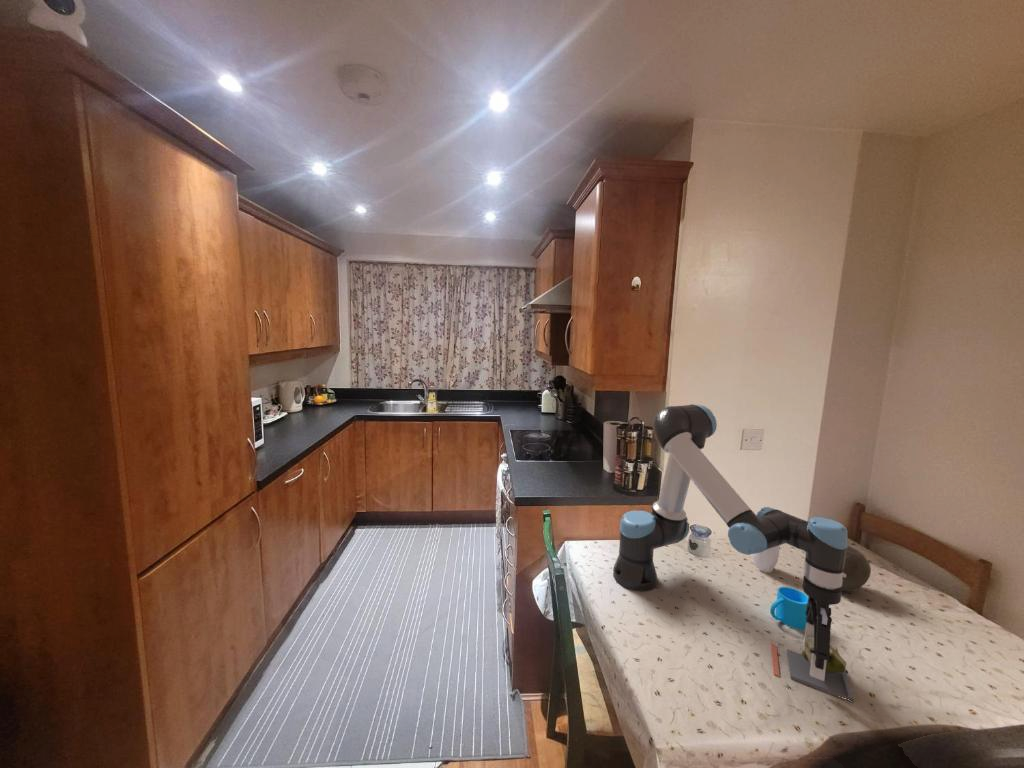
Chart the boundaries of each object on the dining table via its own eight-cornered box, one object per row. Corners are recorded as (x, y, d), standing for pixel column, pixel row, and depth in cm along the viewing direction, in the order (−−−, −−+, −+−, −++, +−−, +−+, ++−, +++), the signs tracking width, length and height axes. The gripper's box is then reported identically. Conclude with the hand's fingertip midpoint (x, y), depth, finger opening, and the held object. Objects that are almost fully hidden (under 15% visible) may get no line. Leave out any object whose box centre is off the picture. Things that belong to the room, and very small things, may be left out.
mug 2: (790, 609, 121) (792, 585, 120) (814, 627, 113) (817, 602, 112) (758, 613, 119) (760, 589, 118) (781, 633, 111) (784, 607, 110)
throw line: (773, 674, 96) (773, 673, 96) (771, 643, 107) (771, 642, 107) (779, 677, 96) (779, 675, 96) (776, 645, 106) (776, 644, 106)
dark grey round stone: (864, 606, 123) (870, 563, 122) (810, 585, 134) (814, 545, 132) (870, 588, 132) (874, 548, 131) (819, 570, 143) (823, 532, 141)
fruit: (837, 691, 90) (833, 661, 89) (794, 664, 99) (790, 637, 98) (856, 671, 94) (853, 642, 93) (813, 647, 102) (810, 620, 102)
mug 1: (783, 572, 141) (785, 542, 139) (766, 578, 138) (769, 547, 136) (753, 556, 152) (755, 528, 150) (737, 560, 149) (739, 532, 147)
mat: (790, 678, 95) (791, 672, 95) (786, 651, 104) (787, 645, 104) (853, 702, 89) (854, 695, 89) (843, 672, 98) (844, 665, 97)
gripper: (853, 613, 83) (842, 704, 85) (832, 564, 102) (824, 639, 104) (810, 600, 87) (800, 688, 89) (798, 555, 106) (790, 628, 108)
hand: (813, 661), depth 97 cm, fingers closed on fruit, 10 cm apart
